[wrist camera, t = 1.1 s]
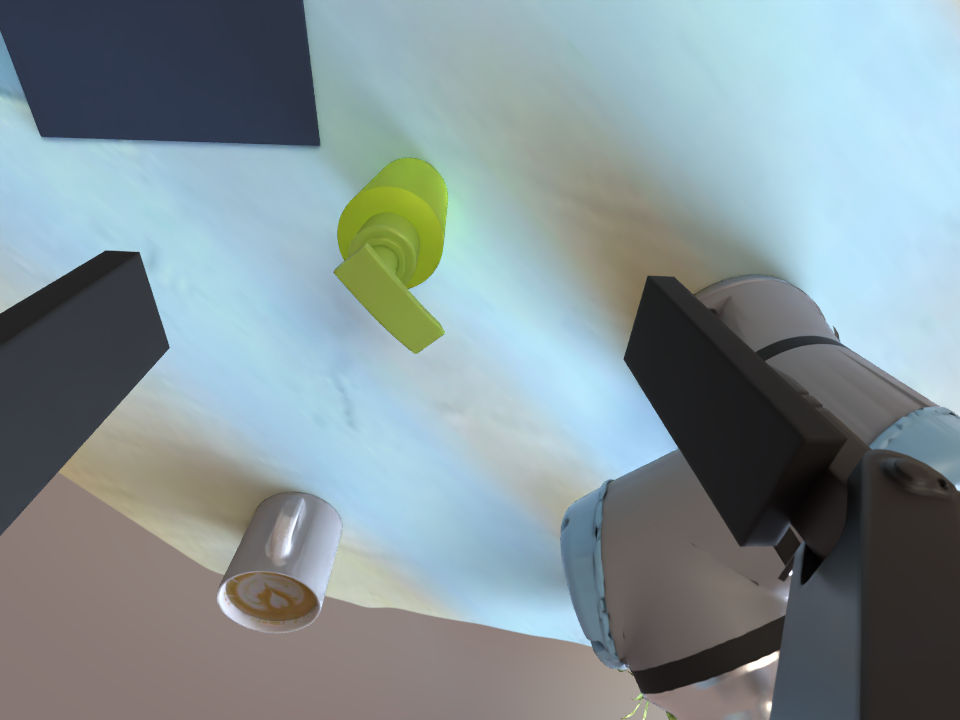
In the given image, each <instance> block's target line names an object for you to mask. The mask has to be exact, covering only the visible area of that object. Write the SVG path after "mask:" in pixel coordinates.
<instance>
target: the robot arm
mask: <svg viewBox="0 0 960 720" xmlns="http://www.w3.org/2000/svg"><path fill="white" fill-rule="evenodd" d="M833 328H834V326H833ZM834 332H835V334H834V333H833V331H832V330H831V328H830V327H829V325H828V324H827V322H826V320H825V317H824V315H823V314H822V312H821V310H820V308H819V307H818V306H817V304H816V303H815V302H814V301H813V300H812V299H811V298H810V297H809V296H808V295H807V294H806V293H804V292H803V291H802V290H800V289H798V288H797V287H795V286H793V285H792V284H790V283H788V282H786V281H784V280H782V279H779V278H775V277H772V276H766V275H745V276H738V277H734V278H730V279H726V280H723V281H721V282H718V283H715V284H713V285H711V286H709V287H707V288H705V289H704V290H702V291H700V292H699V293H697V294H696V295H693V294H692V293H691V292H690V291H689V290H688V289H686V288H685V287H684V286H683V285H682V284H681V283H680V282H679V281H678V280H677V279H676V278H675V277H667V276H647V280H646V283H645V287H644V290H643V294H642V297H641V301H640V304H639V308H638V311H637V314H636V318H635V321H634V325H633V328H632V332H631V335H630V339H629V342H628V346H627V349H626V352H625V356H624V361H625V362H626V364H627V366H628V367H629V369H630V370H631V372H632V374H633V375H634V377H635V379H636V380H637V382H638V383H639V385H640V387H641V388H642V390H643V391H644V393H645V395H646V396H647V398H648V399H649V401H650V403H651V404H652V406H653V408H654V409H655V411H656V412H657V414H658V416H659V417H660V419H661V420H662V422H663V424H664V425H665V427H666V429H667V430H668V432H669V433H670V435H671V437H672V438H673V440H674V441H675V443H676V445H677V446H678V448H679V449H677V450H675V451H673V452H671V453H669V454H667V455H665V456H663V457H661V458H659V459H657V460H655V461H653V462H651V463H649V464H647V465H645V466H642V467H640V468H638V469H636V470H634V471H632V472H630V473H628V474H626V475H624V476H622V477H620V478H618V479H616V480H612V479H610V480H607V481H606V482H604V483H603V485H602V487H600V488H598V489H597V490H595V491H593V492H591V493H590V494H588V495H586V496H584V497H582V498H581V499H579V500H577V501H575V502H574V503H573V504H572V505H571V506H570V507H569V508H568V509H567V511H566V513H565V515H564V517H563V521H562V525H561V538H560V542H561V555H562V562H563V568H564V573H565V578H566V582H567V586H568V589H569V593H570V596H571V600H572V603H573V606H574V609H575V612H576V615H577V617H578V620H579V622H580V625H581V627H582V630H583V632H584V634H585V636H586V638H587V639H588V640H591V644H592V647H593V650H594V652H595V654H596V655H597V657H598V658H599V659H600V661H601V662H602V663H604V664H605V665H606V666H608V667H609V668H612V669H619V670H622V671H623V670H625V669H628V668H629V667H630V670H631V672H632V673H633V675H634V677H635V679H636V682H637V684H638V686H639V688H640V691H641V693H642V695H643V697H644V698H645V699H646V700H648V701H649V702H651V703H653V704H655V705H656V706H658V707H660V708H662V709H664V710H665V711H667V712H669V713H671V714H672V715H674V716H675V717H676V718H677V719H678V720H960V417H959V416H958V415H956V414H955V413H954V412H952V411H951V410H949V409H947V408H944V407H940V406H938V405H936V404H935V403H933V402H932V401H930V400H929V399H927V398H926V397H924V396H922V395H921V394H919V393H918V392H916V391H915V390H913V389H911V388H910V387H908V386H907V385H905V384H904V383H902V382H900V381H899V380H897V379H896V378H894V377H893V376H891V375H890V374H888V373H886V372H885V371H883V370H882V369H880V368H879V367H877V366H875V365H874V364H872V363H871V362H869V361H868V360H866V359H864V358H863V357H861V356H860V355H858V354H857V353H855V352H854V351H852V350H850V349H849V348H847V347H846V346H844V345H843V344H841V343H840V340H839V335H838V332H837V331H836V329H835V328H834ZM169 348H170V347H169V344H168V341H167V338H166V334H165V331H164V328H163V325H162V322H161V319H160V315H159V312H158V309H157V306H156V303H155V300H154V297H153V293H152V290H151V287H150V284H149V281H148V278H147V274H146V271H145V268H144V265H143V262H142V259H141V255H140V252H127V251H104V252H103V253H101V254H99V255H97V256H96V257H94V258H92V259H91V260H89V261H87V262H86V263H84V264H82V265H81V266H79V267H77V268H76V269H74V270H72V271H71V272H69V273H67V274H66V275H64V276H62V277H61V278H59V279H57V280H56V281H54V282H52V283H51V284H49V285H47V286H46V287H44V288H42V289H41V290H39V291H37V292H36V293H34V294H32V295H31V296H29V297H27V298H26V299H24V300H22V301H21V302H19V303H17V304H16V305H14V306H12V307H11V308H9V309H7V310H6V311H4V312H2V313H1V314H0V535H2V533H3V532H4V531H5V530H6V529H7V528H8V527H9V526H10V525H11V523H12V522H13V521H14V520H15V519H16V518H17V517H18V516H19V515H20V513H21V512H22V511H23V510H24V509H25V508H26V507H27V506H28V505H29V503H30V502H31V501H32V500H33V499H34V498H35V497H36V496H37V495H38V493H39V492H40V491H41V490H42V489H43V488H44V487H45V486H46V485H47V483H48V482H49V481H50V480H51V479H52V478H53V477H54V476H55V475H56V473H57V472H58V471H59V470H60V469H61V468H62V467H63V466H64V465H65V463H66V462H67V461H68V460H69V459H70V458H71V457H72V456H73V455H74V453H75V452H76V451H77V450H78V449H79V448H80V447H81V446H82V445H83V443H84V442H85V441H86V440H87V439H88V438H89V437H90V436H91V435H92V433H93V432H94V431H95V430H96V429H97V428H98V427H99V426H100V425H101V424H102V422H103V421H104V420H105V419H106V418H107V417H108V416H109V415H110V414H111V412H112V411H113V410H114V409H115V408H116V407H117V406H118V405H119V404H120V402H121V401H122V400H123V399H124V398H125V397H126V396H127V395H128V394H129V392H130V391H131V390H132V389H133V388H134V387H135V386H136V385H137V384H138V382H139V381H140V380H141V379H142V378H143V377H144V376H145V375H146V374H147V372H148V371H149V370H150V369H151V368H152V367H153V366H154V365H155V364H156V362H157V361H158V360H159V359H160V358H161V357H162V356H163V355H164V354H165V352H166V351H167V350H168V349H169Z"/></svg>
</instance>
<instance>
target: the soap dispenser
mask: <svg viewBox="0 0 960 720" xmlns="http://www.w3.org/2000/svg"><path fill="white" fill-rule="evenodd" d="M447 205H448V193H447V188H446V185H445V182H444V180H443V178H442V177H441V175H440V174H439V172H438V171H437V170H436V169H435V168H434V167H433V166H431V165H430V164H428V163H427V162H425V161H423V160H420V159H416V158H401V159H398V160H395V161H393V162H391V163H389V164H388V165H387V166H386V167H384V168H383V169H382V170H381V171H380V172H379V173H378V174H377V175H376V176H375V177H374V178H373V179H372V180H371V181H370V182H369V183H368V184H367V185H366V186H365V187H364V188H363V189H362V190H361V191H360V192H359V193H358V194H357V195H356V196H355V197H354V198H353V199H352V200H351V201H350V202H349V203H348V204H347V206H346V207H345V209H344V211H343V212H342V215H341V217H340V220H339V224H338V231H337V237H338V245H339V249H340V252H341V255H342V257H343V259H344V262H343V263H342V264H340V265H339V266H338V267H337V268H336V269H335V270H334V272H333V273H334V274H335V275H336V276H337V277H338V278H339V279H340V281H341V282H342V283H343V284H344V285H345V286H346V287H347V288H348V290H349V291H350V292H351V293H352V294H353V295H354V296H355V297H356V298H357V300H358V301H359V302H360V303H361V304H362V305H363V306H364V307H365V308H366V309H367V310H368V311H369V313H370V314H371V315H372V316H373V317H374V318H375V319H376V320H377V321H378V322H379V323H380V324H381V325H382V326H383V327H384V328H385V329H386V330H387V331H388V332H390V333H391V334H392V335H393V336H394V337H395V338H396V339H397V340H398V341H400V342H401V343H402V344H403V345H404V346H406V347H407V348H408V349H409V350H410V351H412V352H413V353H414V354H417V353H419V352H420V351H421V350H423V349H424V348H426V347H427V346H428V345H430V344H431V343H433V342H434V341H435V340H437V339H438V338H440V337H441V336H442V335H444V334H445V332H444V330H443V328H442V326H441V324H440V323H439V322H438V321H437V320H436V319H435V318H434V317H433V316H432V315H431V314H430V313H429V312H428V311H427V310H426V309H425V308H424V307H423V306H422V305H421V304H420V302H419V301H418V300H417V299H416V298H415V297H414V296H413V295H412V294H411V292H410V291H409V290H408V289H410V288H413V287H415V286H417V285H419V284H421V283H422V282H424V281H425V280H426V279H428V278H429V277H430V276H431V275H432V273H433V272H434V271H435V269H436V268H437V266H438V264H439V262H440V259H441V256H442V252H443V244H444V234H445V225H446V215H447Z"/></svg>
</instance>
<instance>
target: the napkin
mask: <svg viewBox="0 0 960 720" xmlns="http://www.w3.org/2000/svg"><path fill="white" fill-rule="evenodd" d="M0 31H1V33H2V36H3V38H4V41H5V44H6V46H7V49H8V51H9V54H10V57H11V59H12V62H13V65H14V67H15V70H16V72H17V75H18V78H19V80H20V83H21V86H22V88H23V91H24V93H25V96H26V99H27V101H28V104H29V107H30V109H31V112H32V114H33V117H34V120H35V122H36V125H37V127H38V130H39V133H40V135H41V137H64V138H95V139H126V140H157V141H188V142H219V143H251V144H282V145H313V146H320V138H319V129H318V121H317V113H316V104H315V96H314V88H313V79H312V71H311V63H310V55H309V46H308V38H307V30H306V21H305V13H304V5H303V0H0Z"/></svg>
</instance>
